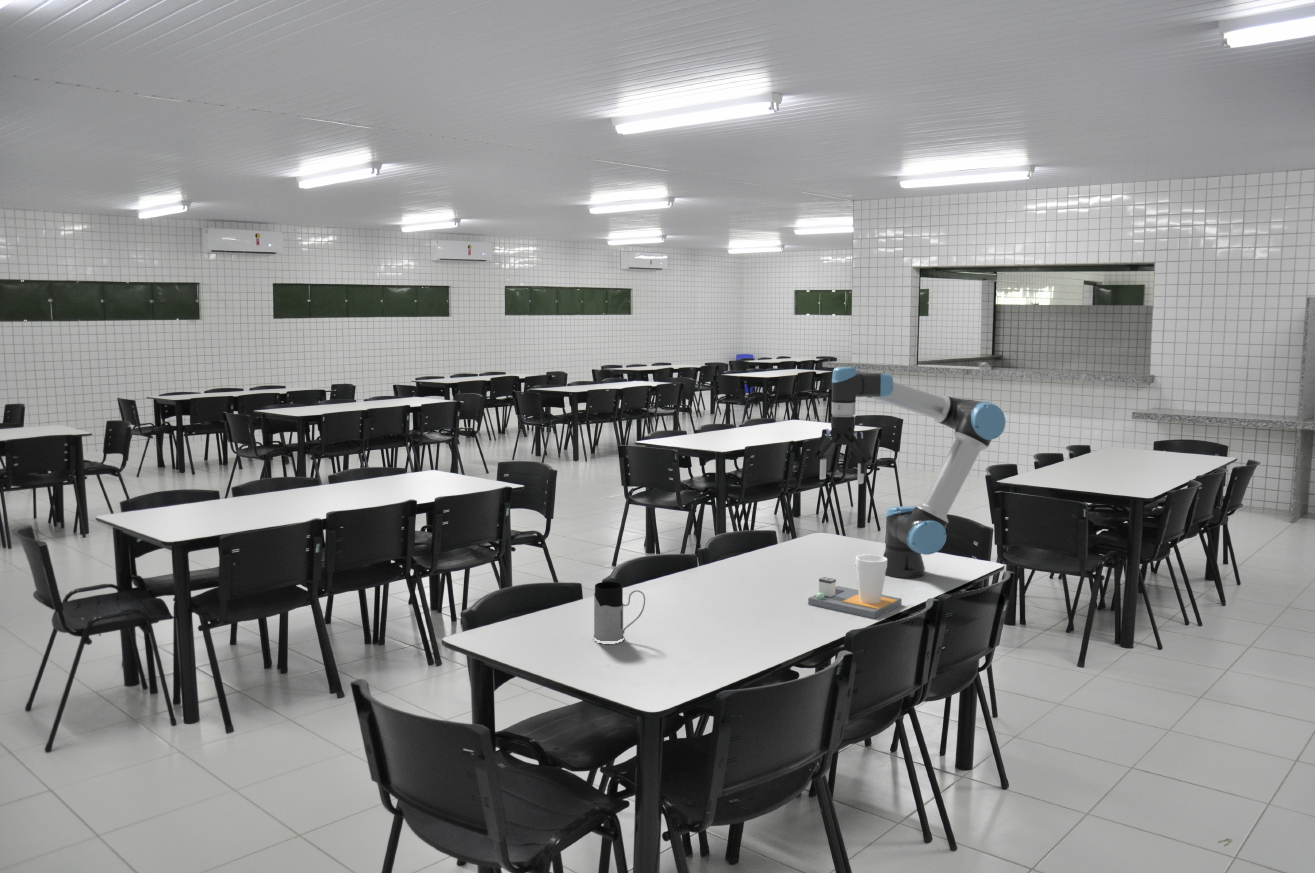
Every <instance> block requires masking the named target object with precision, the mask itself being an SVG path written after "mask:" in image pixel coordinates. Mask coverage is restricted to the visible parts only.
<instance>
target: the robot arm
mask: <svg viewBox="0 0 1315 873" xmlns="http://www.w3.org/2000/svg"><path fill="white" fill-rule="evenodd" d="M831 377H832V378H831V415H832V416H831V417H830V419H831V420H830V427H831V429H828V428H824V429H822V430H821V436H820V438H819V440H818V442H817V444H816V447H815V449H814V450H813V453H812V457H815V458H816V459H817V468H818V469H819V480H820V481H821V480H825V479H827V476H826V475H827V458H826V456H827V455H828V454H829V452H830V451H831V450H832V449H833V448H834V447H835V445H843V446H848V447H849V448H850V450H851V451H852V452H853V454H854V455H855V457H856V458H857V460H858V461H859V463H857V479H856V480H857V482H856V483H857V485H862V484H864V478H865V475H866V473H867V464H868V463H871V462H873V457H872V454H871V452H870V449H869V446H868V444H867V442H866V440H865V433H864V431H858V432H855V429H856V427H855V426H856V417H855V415H856V403H857V398H863V397H865V398H868V399H873V400H875V401H878V402H881V403H885V404H888V405H891V406H894V407H898V408H900V409H903V410H907V411H910V412H912V413H916V414H920V415H922V416H926V417H929V418H931V419H933V420H934V421H935V423H938V424H941V425H944V426H946V427H948V428H950V429H953V430H954V432H953V433H954V434H953V435H954V437H955V440H954V442H953V444H952V446H951V448H950V449H949V451H948V454H947V455H946V457H945V459H944V461H943V463H942V464H941V467H940V469H939V470H938V472H937V475H936V477H935V479H934V480H933V482H932V484H931V486H930V488H929V490H928V492H927V494H926V496H925V498H924V500H923V501H922V503H920V504H918V505H917V504H916V505H915V506H905V505H904V506H900V505H899V506H890V507H888V508H887V510H886V516H885V520H886V521H885V549H884V553H883V555H882V556H883V557H886V558H887V568H886V573H885V576H888V577H893V578H894V577H895V578H901V579H902V578H904V579H906V578H907V579H908V578H909V579H911V578H912V579H913V578H920V577H923V576H924V575H925V574H926V573H925V572H926V571H925V570H926V568H925V564H924V560H923V556H922V555H927V556H928V555H933V554H936V553H938V552H939V551H940V550H942V548H943V547H944V545H945V543H946V540H947V532H946V528H947V526H948V525H949V519H948V516H947V515H948V514H949V512H950V510H951V508H952V506H953V504H954V502H955V501H956V498H957V497H958V494H960V490H961V488H962V486H963V485H964V482H965V481H966V479H967V477H968V475H969V473H970V472H971V469H972V468H973V465H974V464H975V462H976V460H977V458H978V456H979V454H980V452H981V451H983V450H986V449H988V447H989V446H990V445H991V444H990V443H991V441H992V440H995V439H997V438H999V437H1000V436H1001V435H1002V434H1003V433H1004V431H1005V428H1006V421H1007V420H1006V417H1005V414H1004V411H1003V410H1002V408H1001V407H1000V406H998V405H996V404H994V403H992V402H989V401H980V400H975V399H967V398H956V397H953V396H952V397H951V396H949V395H943V396H938V395H935V394H933V393H930V392H927V391H923V390H920V389H918V388H913V387H911V386H907V385H904V384H901V383H898V382H894V379H893V376H892V375H891V374H890V373H882V372H879V373H877V372H876V373H873V372H867V371H860V370H857V368H856V367H853V366H852V367H851V366H850V367H849V366H839V367H835V368H834V369H833V370H832V376H831ZM829 436H830V437H831V439H830V440H829V441H828V443H827V444H826V442H827V440H828V438H829ZM855 439H856V440H857V442H856V441H855ZM857 443H858V445H859V446H858V445H857ZM825 445H826V446H825Z"/></svg>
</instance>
